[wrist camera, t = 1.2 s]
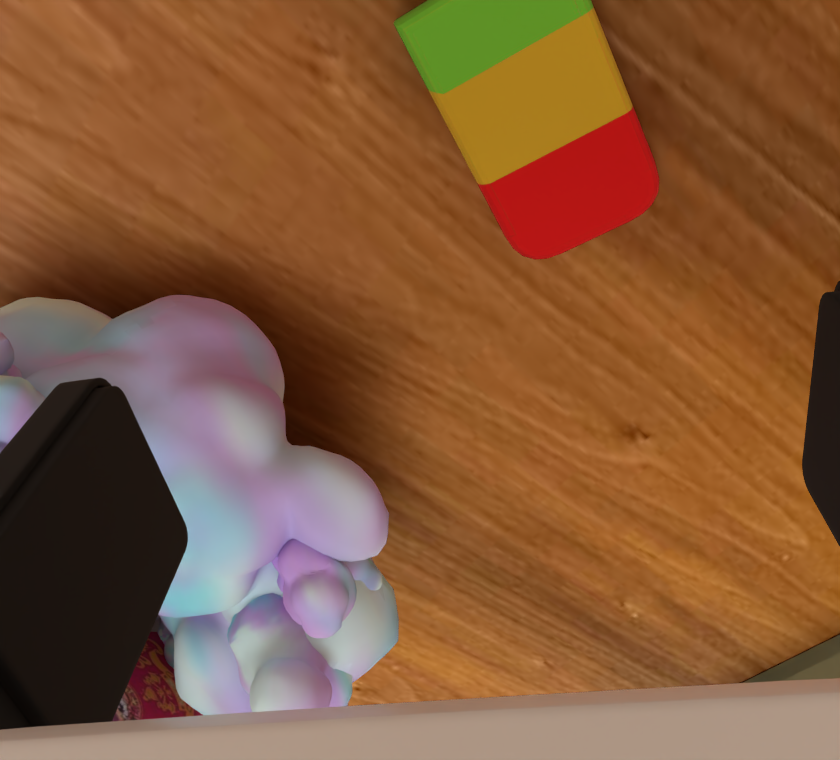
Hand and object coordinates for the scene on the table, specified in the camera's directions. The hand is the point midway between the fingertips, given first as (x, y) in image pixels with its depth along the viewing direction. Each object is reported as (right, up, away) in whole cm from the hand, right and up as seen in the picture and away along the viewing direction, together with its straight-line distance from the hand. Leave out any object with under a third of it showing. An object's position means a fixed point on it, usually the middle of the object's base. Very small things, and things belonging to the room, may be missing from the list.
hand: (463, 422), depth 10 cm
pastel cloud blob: (-12, -3, +25) cm, 28 cm away
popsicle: (+2, +12, +14) cm, 19 cm away
